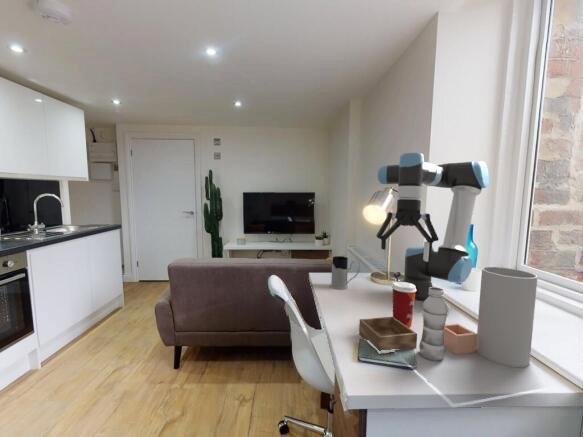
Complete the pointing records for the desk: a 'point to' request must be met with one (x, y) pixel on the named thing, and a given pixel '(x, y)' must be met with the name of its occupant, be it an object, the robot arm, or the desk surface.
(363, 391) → the desk surface
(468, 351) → the planter
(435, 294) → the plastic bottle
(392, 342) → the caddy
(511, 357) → the cylinder vase
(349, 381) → the desk surface
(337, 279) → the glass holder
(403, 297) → the coffee cup
